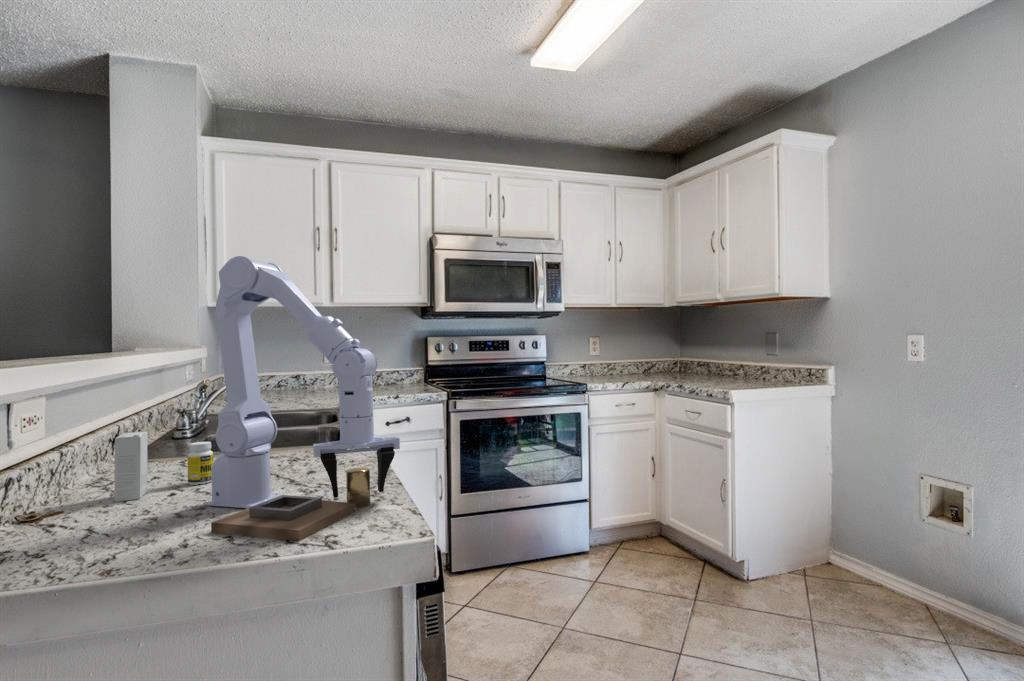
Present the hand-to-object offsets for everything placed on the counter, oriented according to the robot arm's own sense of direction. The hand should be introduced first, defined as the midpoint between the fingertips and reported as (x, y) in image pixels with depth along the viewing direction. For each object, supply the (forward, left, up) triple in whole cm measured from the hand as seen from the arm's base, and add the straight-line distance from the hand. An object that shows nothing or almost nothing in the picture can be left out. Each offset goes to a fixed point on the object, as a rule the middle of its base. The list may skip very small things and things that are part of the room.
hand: (358, 493), depth 96 cm
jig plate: (-6, -11, -2) cm, 13 cm away
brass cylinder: (0, 0, -2) cm, 2 cm away
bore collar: (-6, -11, 0) cm, 13 cm away
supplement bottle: (-43, +7, -2) cm, 44 cm away
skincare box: (-47, -5, -2) cm, 47 cm away
